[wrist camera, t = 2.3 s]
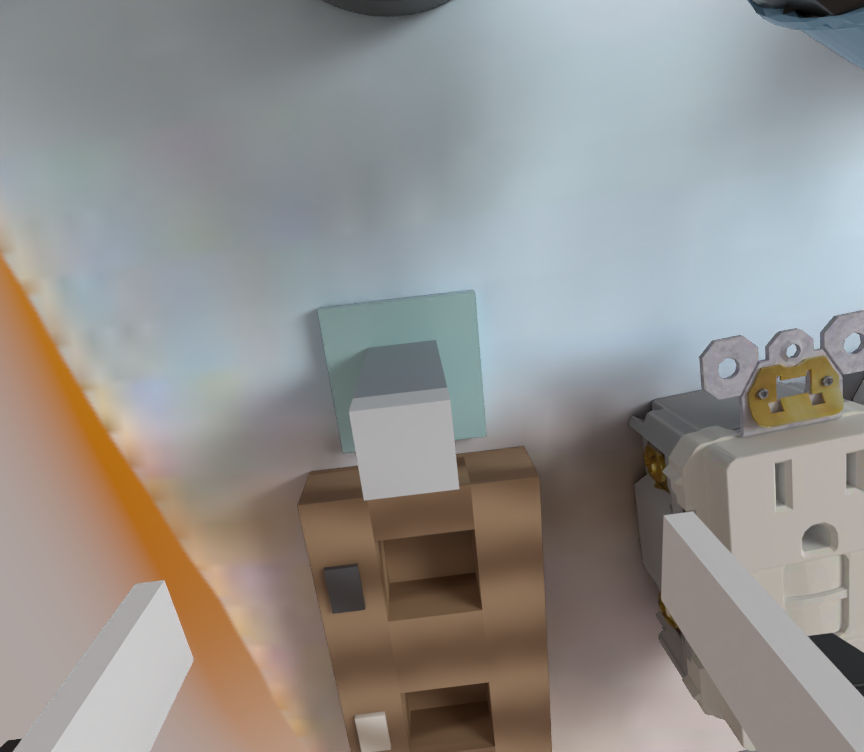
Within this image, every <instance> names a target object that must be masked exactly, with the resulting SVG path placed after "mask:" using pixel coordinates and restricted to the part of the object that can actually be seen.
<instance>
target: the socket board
mask: <svg viewBox="0 0 864 752" xmlns="http://www.w3.org/2000/svg"><path fill="white" fill-rule="evenodd" d="M456 461H457V471H458V480H459V489H457V490H448V491H440V492H432V493H423V494H415V495H407V496H398V497H390V498H382V499H373V500H365V501H364V498H363V492H362V486H361V480H360V474H359V468H358V466H353V467H345V468H336V469H328V470H319V471H311V472H310V473H309V476H308V479H307V481H306V484H305V487H304V489H303V492H302V495H301V497H300V500H299V502H298V505H297V506H298V511H299V515H300V520H301V525H302V529H303V534H304V538H305V543H306V548H307V552H308V557H309V561H310V566H311V570H312V575H313V580H314V584H315V589H316V593H317V598H318V602H319V607H320V612H321V616H322V621H323V625H324V630H325V634H326V639H327V644H328V648H329V653H330V657H331V662H332V667H333V671H334V676H335V680H336V685H337V689H338V694H339V699H340V703H341V708H342V712H343V717H344V721H345V726H346V731H347V735H348V740H349V744H350V749H351V752H552V741H551V719H550V697H549V675H548V653H547V631H546V609H545V587H544V565H543V543H542V521H541V499H540V477H539V475H538V473H537V471H536V469H535V467H534V465H533V463H532V461H531V459H530V457H529V455H528V453H527V451H526V449H525V447H524V446H521V447H513V448H504V449H496V450H487V451H479V452H471V453H462V454H456Z"/></svg>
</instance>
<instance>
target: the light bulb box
mask: <svg viewBox="0 0 864 752" xmlns="http://www.w3.org/2000/svg"><path fill="white" fill-rule="evenodd" d="M852 402H855V403H858V404H860V405H863V406H864V379H863V381H862V383H861V385H860V387H859V389H858V391H857V392H856V394H855V396H854V398H853V400H852Z"/></svg>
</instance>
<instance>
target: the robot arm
mask: <svg viewBox="0 0 864 752" xmlns="http://www.w3.org/2000/svg"><path fill="white" fill-rule="evenodd" d="M323 1H325V2H327V3H329V4H332V5H334V6H337V7H339V8H342V9H345V10H348V11H352V12H355V13H360V14H365V15H373V16H402V15H408V14H414V13H418V12H422V11H425V10H428V9H431V8H434V7H436V6H439V5H441V4H443V3H445V2H447V1H449V0H323ZM747 1H748V2H749V3H750V4H751V6H752V7H753V8H754V10H755V11H756V13H757V14H759V15H760V16H761V17H762V18H763V19H765V20H767V21H769V22H771V23H773V24H775V25H779V26H783V27H786V28H790V29H798V30H801V31H803V32H804V33H806V34H807V35H809V36H810V37H812V38H813V39H815V40H816V41H818V42H820V43H821V44H823V45H824V46H826V47H827V48H829V49H830V50H832V51H833V52H835V53H837V54H838V55H840V56H841V57H843V58H844V59H846V60H848V61H849V62H851V63H852V64H855V65H857V66H859V67H861V68H863V69H864V0H747ZM661 600H662V602H663V603H664V605H665V606H666V608H667V610H668V611H669V613H670V614H671V616H672V617H673V619H674V621H675V622H676V624H677V625H678V627H679V629H680V630H681V632H682V633H683V635H684V636H685V638H686V640H687V641H688V643H689V644H690V646H691V647H692V649H693V651H694V652H695V654H696V655H697V657H698V658H699V660H700V662H701V663H702V665H703V666H704V668H705V670H706V671H707V673H708V674H709V676H710V677H711V679H712V681H713V682H714V684H715V685H716V687H717V688H718V690H719V692H720V693H721V695H722V696H723V698H724V699H725V701H726V703H727V704H728V706H729V707H730V709H731V711H732V712H733V714H734V715H735V717H736V718H737V720H738V722H739V723H740V725H741V726H742V728H743V729H744V731H745V733H746V734H747V736H748V737H749V739H750V740H751V742H752V744H753V745H754V747H755V748H756V750H757V752H864V653H863V652H862V651H860V650H859V649H857V648H856V647H854V646H852V645H851V644H849V643H848V642H846V641H845V640H843V639H841V638H840V637H838V636H837V635H835V634H833V633H826V634H819V635H811V636H807V635H806V634H805V633H804V632H803V631H802V630H801V628H800V627H799V626H798V625H797V624H796V623H795V622H794V621H793V620H792V619H791V618H790V616H789V615H788V614H787V613H786V612H785V611H784V610H783V609H782V608H781V607H780V606H779V605H778V603H777V602H776V601H775V600H774V599H773V598H772V597H771V596H770V595H769V594H768V593H767V592H766V590H765V589H764V588H763V587H762V586H761V585H760V584H759V583H758V582H757V581H756V580H755V578H754V577H753V576H752V575H751V574H750V573H749V572H748V571H747V570H746V569H745V568H744V567H743V565H742V564H741V563H740V562H739V561H738V560H737V559H736V558H735V557H734V556H733V555H732V554H731V552H730V551H729V550H728V549H727V548H726V547H725V546H724V545H723V544H722V543H721V542H720V540H719V539H718V538H717V537H716V536H715V535H714V534H713V533H712V532H711V531H710V530H709V529H708V527H707V526H706V525H705V524H704V523H703V522H702V521H701V520H700V519H699V518H698V517H697V515H696V514H695V513H694V512H685V513H677V514H670V515H664V518H663V550H662V583H661ZM193 660H194V659H193V656H192V654H191V651H190V648H189V646H188V643H187V640H186V637H185V635H184V632H183V629H182V627H181V624H180V621H179V619H178V616H177V613H176V610H175V608H174V605H173V602H172V600H171V597H170V594H169V591H168V589H167V586H166V583H165V581H164V580H161V581H154V582H146V583H139V584H135V585H134V586H133V588H132V589H131V591H130V592H129V593H128V595H127V596H126V598H125V599H124V600H123V601H122V603H121V604H120V606H119V607H118V608H117V610H116V611H115V612H114V614H113V615H112V617H111V618H110V619H109V621H108V622H107V623H106V625H105V626H104V627H103V629H102V630H101V632H100V633H99V634H98V636H97V637H96V638H95V640H94V641H93V643H92V644H91V645H90V647H89V648H88V649H87V651H86V652H85V653H84V655H83V656H82V658H81V659H80V661H79V662H78V663H77V664H76V666H75V667H74V669H73V670H72V671H71V673H70V674H69V675H68V677H67V678H66V680H65V681H64V682H63V684H62V685H61V686H60V688H59V689H58V690H57V692H56V693H55V695H54V696H53V697H52V699H51V700H50V701H49V703H48V704H47V705H46V707H45V708H44V710H43V711H42V712H41V714H40V715H39V716H38V718H37V719H36V721H35V722H34V723H33V725H32V726H31V727H30V729H29V730H28V731H27V733H26V734H25V736H24V737H23V738H22V739H16V740H9V741H7V742H6V743H5V744H4V745H3V746H2V747H0V752H150V750H151V748H152V746H153V744H154V742H155V739H156V737H157V735H158V733H159V731H160V729H161V727H162V725H163V723H164V721H165V718H166V716H167V714H168V712H169V710H170V708H171V706H172V704H173V702H174V700H175V698H176V696H177V694H178V691H179V689H180V687H181V685H182V683H183V681H184V679H185V677H186V675H187V673H188V671H189V669H190V667H191V664H192V662H193Z"/></svg>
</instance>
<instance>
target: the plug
mask: <svg viewBox="0 0 864 752" xmlns="http://www.w3.org/2000/svg"><path fill="white" fill-rule="evenodd" d="M349 416H350V422H351V427H352V433H353V439H354V445H355V451H356V457H357V463H358V468H359V474H360V480H361V486H362V492H363V498H364V501H365V500H373V499H382V498H390V497H398V496H407V495H415V494H423V493H432V492H440V491H448V490H457V489H459V480H458V471H457V461H456V451H455V441H454V431H453V422H452V412H451V402H450V397H449V392H448V388H447V384H446V380H445V376H444V371H443V367H442V363H441V359H440V355H439V350H438V346H437V342H436V340H431V341H422V342H414V343H405V344H396V345H388V346H379V347H370V348H368V349H367V352H366V355H365V359H364V362H363V365H362V369H361V372H360V376H359V379H358V382H357V386H356V389H355V393H354V396H353V399H352V403H351V406H350V410H349Z"/></svg>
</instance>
